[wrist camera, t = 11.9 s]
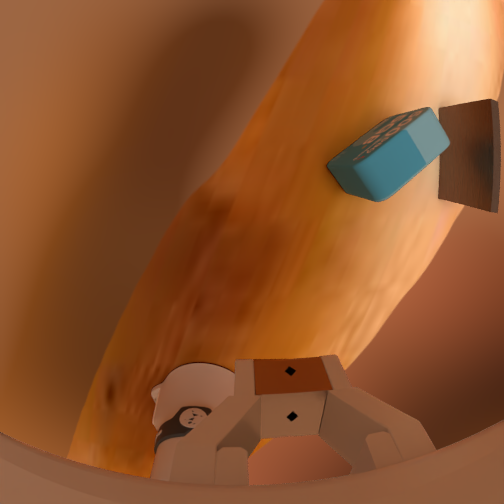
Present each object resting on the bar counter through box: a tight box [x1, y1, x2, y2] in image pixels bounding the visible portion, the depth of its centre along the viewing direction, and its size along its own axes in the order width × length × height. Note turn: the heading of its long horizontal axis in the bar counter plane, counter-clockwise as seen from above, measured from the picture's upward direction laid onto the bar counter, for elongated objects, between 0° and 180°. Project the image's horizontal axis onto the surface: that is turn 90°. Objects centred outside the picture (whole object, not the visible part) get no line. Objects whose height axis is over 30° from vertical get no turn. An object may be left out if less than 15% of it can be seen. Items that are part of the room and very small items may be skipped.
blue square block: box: [327, 107, 450, 202], centre depth 31 cm, size 12×4×12 cm, turn 129°
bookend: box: [438, 99, 501, 213], centre depth 31 cm, size 14×4×12 cm, turn 0°
